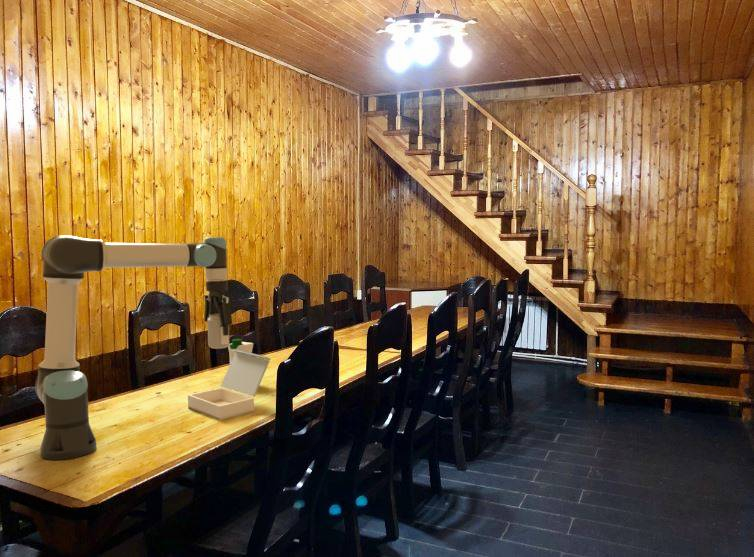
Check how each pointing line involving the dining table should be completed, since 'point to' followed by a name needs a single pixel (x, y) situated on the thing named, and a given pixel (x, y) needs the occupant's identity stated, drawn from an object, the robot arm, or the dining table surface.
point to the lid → (245, 372)
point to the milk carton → (239, 347)
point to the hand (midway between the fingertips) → (218, 342)
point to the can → (215, 332)
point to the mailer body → (221, 403)
